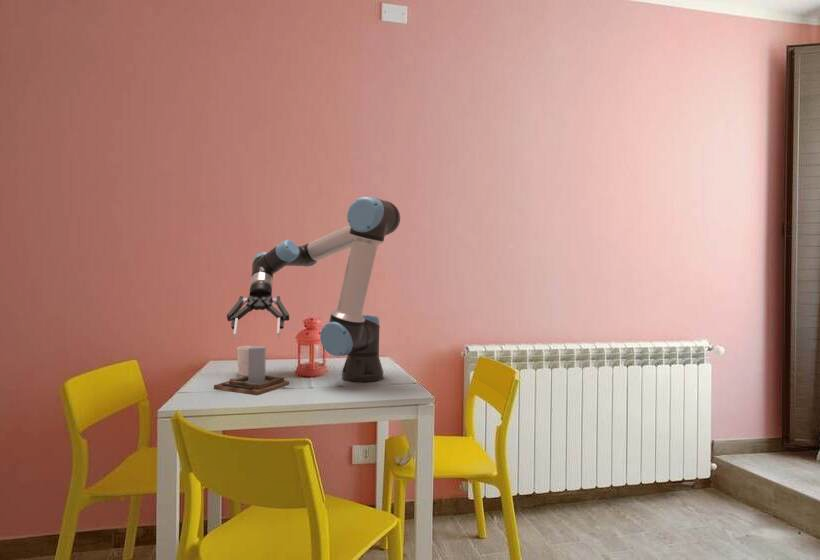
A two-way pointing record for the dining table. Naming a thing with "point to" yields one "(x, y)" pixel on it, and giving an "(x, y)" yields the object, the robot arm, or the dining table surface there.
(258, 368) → the block
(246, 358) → the white cup
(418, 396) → the dining table surface
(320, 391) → the dining table surface
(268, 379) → the brown wooden frame
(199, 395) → the dining table surface
